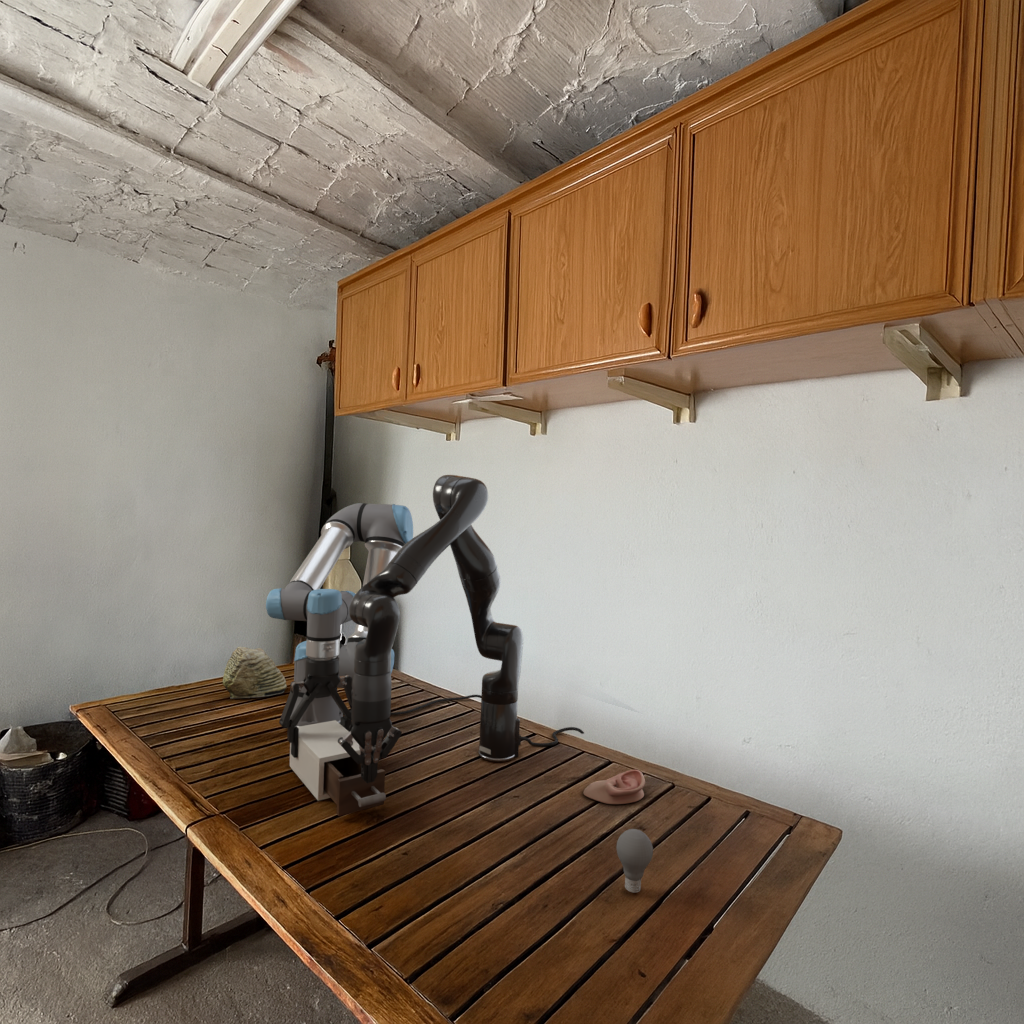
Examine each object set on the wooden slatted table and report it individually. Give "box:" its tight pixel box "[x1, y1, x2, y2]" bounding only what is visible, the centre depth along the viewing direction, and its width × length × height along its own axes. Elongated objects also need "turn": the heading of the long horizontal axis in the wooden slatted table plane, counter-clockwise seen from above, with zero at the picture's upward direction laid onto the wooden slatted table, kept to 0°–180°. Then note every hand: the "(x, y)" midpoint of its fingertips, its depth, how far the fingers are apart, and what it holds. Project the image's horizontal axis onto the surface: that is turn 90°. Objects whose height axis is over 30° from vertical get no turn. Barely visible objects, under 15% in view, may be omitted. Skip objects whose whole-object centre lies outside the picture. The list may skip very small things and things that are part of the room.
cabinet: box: [289, 720, 360, 802], centre depth 143 cm, size 20×11×9 cm, turn 36°
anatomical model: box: [582, 769, 646, 805], centre depth 141 cm, size 13×4×12 cm
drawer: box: [323, 757, 387, 817], centre depth 132 cm, size 24×10×7 cm, turn 36°
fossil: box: [222, 646, 288, 699], centre depth 198 cm, size 9×18×15 cm, turn 132°
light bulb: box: [615, 828, 654, 894], centre depth 106 cm, size 6×6×10 cm
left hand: (319, 750), depth 147 cm, fingers closed on cabinet, 11 cm apart
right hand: (369, 780), depth 125 cm, fingers closed
